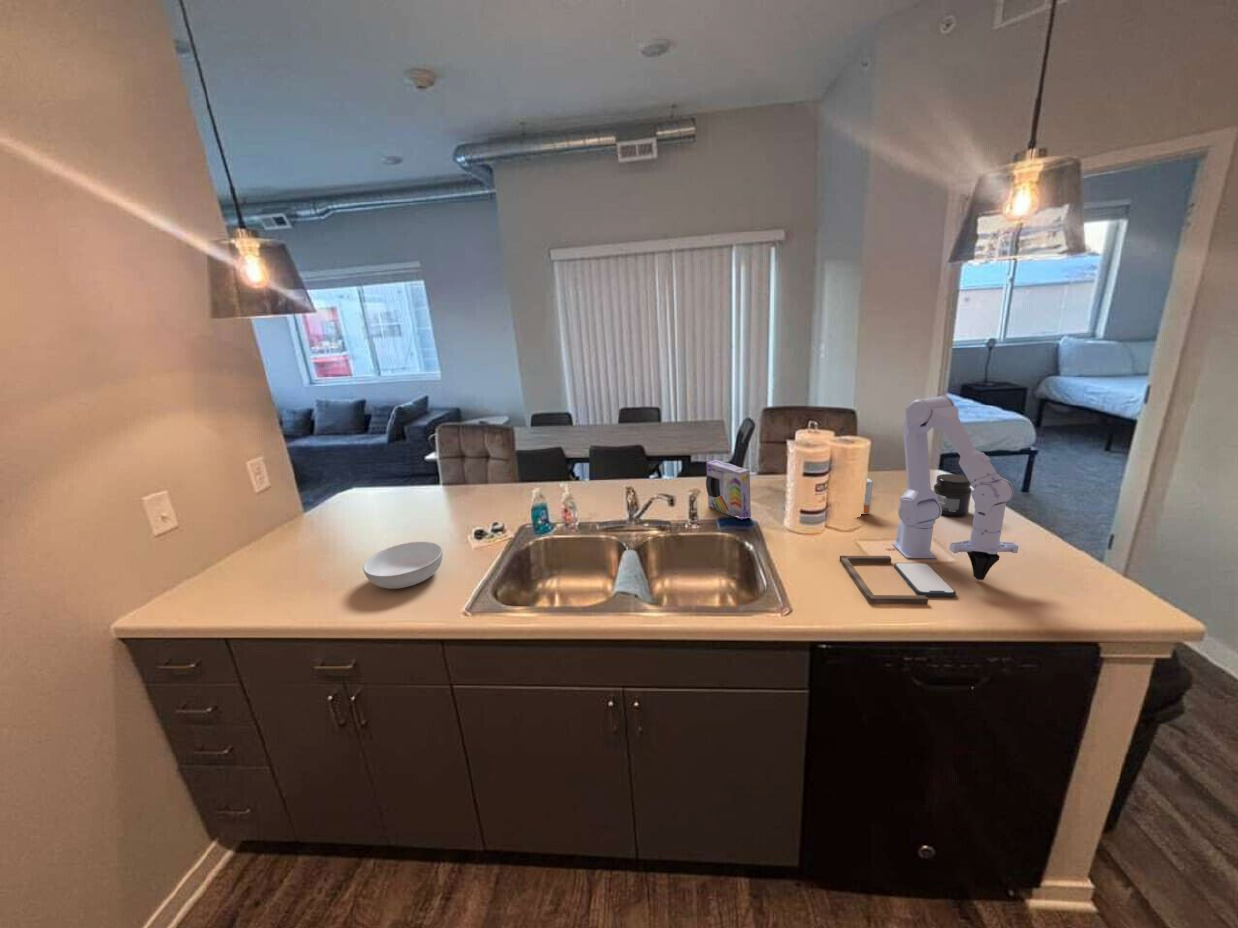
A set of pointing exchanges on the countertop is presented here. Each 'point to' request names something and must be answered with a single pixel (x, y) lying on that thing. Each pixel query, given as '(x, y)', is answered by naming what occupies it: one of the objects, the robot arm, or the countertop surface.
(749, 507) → the cake pan box
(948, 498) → the supplement container
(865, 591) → the walnut frame
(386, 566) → the serving bowl
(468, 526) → the countertop surface
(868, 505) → the skincare box
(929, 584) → the dark grey smartphone
